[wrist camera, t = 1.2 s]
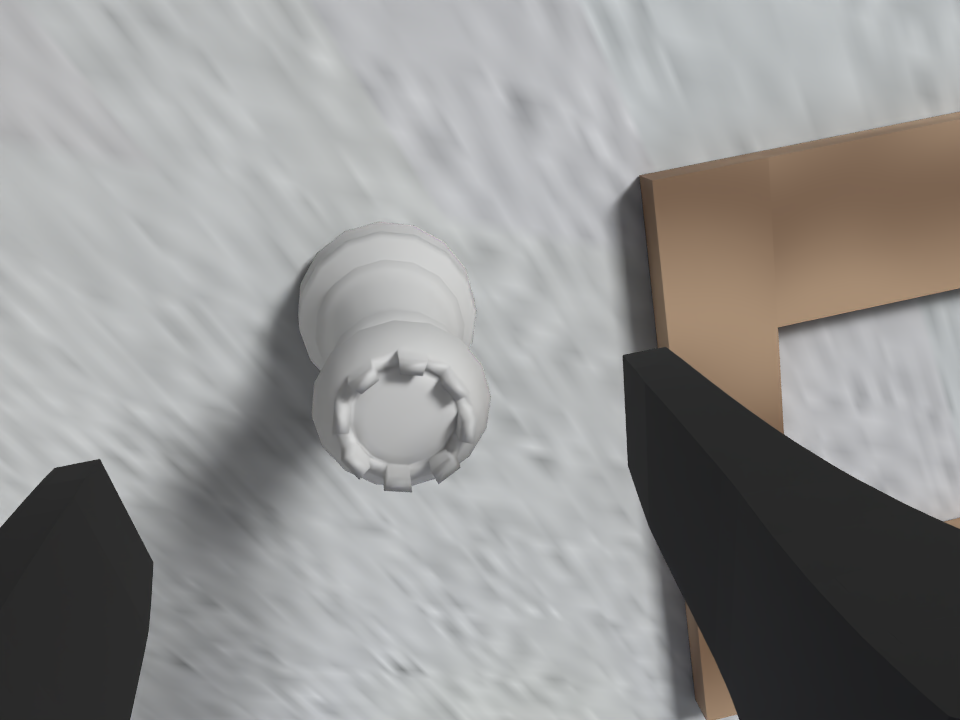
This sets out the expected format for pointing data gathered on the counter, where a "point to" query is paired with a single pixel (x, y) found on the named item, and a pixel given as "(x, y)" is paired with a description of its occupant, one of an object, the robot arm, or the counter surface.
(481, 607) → the counter surface
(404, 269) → the rook chess piece
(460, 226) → the counter surface
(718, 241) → the walnut socket board
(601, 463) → the counter surface
